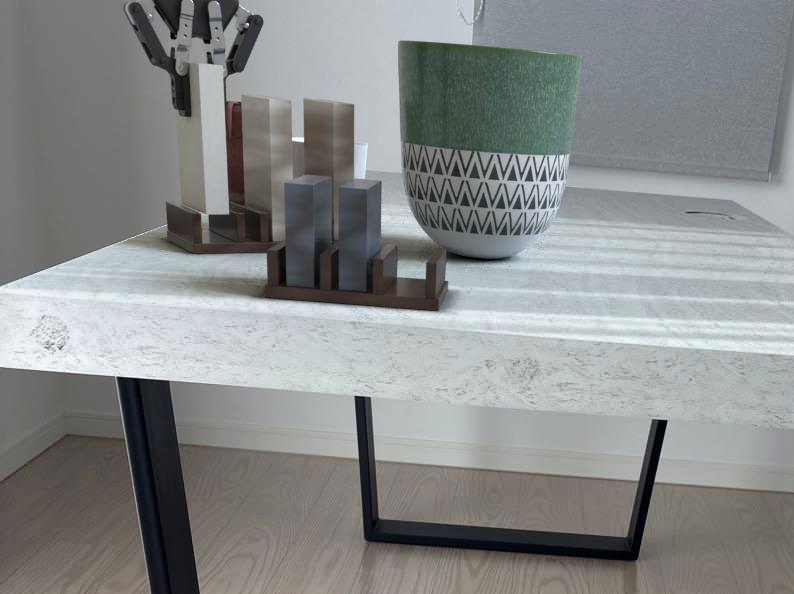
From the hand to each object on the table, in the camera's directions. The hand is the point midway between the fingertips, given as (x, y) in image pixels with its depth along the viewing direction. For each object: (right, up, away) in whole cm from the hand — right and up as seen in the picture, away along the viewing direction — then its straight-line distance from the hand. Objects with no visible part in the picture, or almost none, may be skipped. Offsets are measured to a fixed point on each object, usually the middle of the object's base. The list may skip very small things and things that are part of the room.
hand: (200, 116), depth 107 cm
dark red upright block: (0, -6, +18) cm, 19 cm away
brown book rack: (+5, -11, +9) cm, 15 cm away
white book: (-1, -8, +4) cm, 9 cm away
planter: (+28, -11, +13) cm, 32 cm away
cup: (+8, -3, +26) cm, 28 cm away
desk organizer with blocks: (+18, -21, -12) cm, 30 cm away
